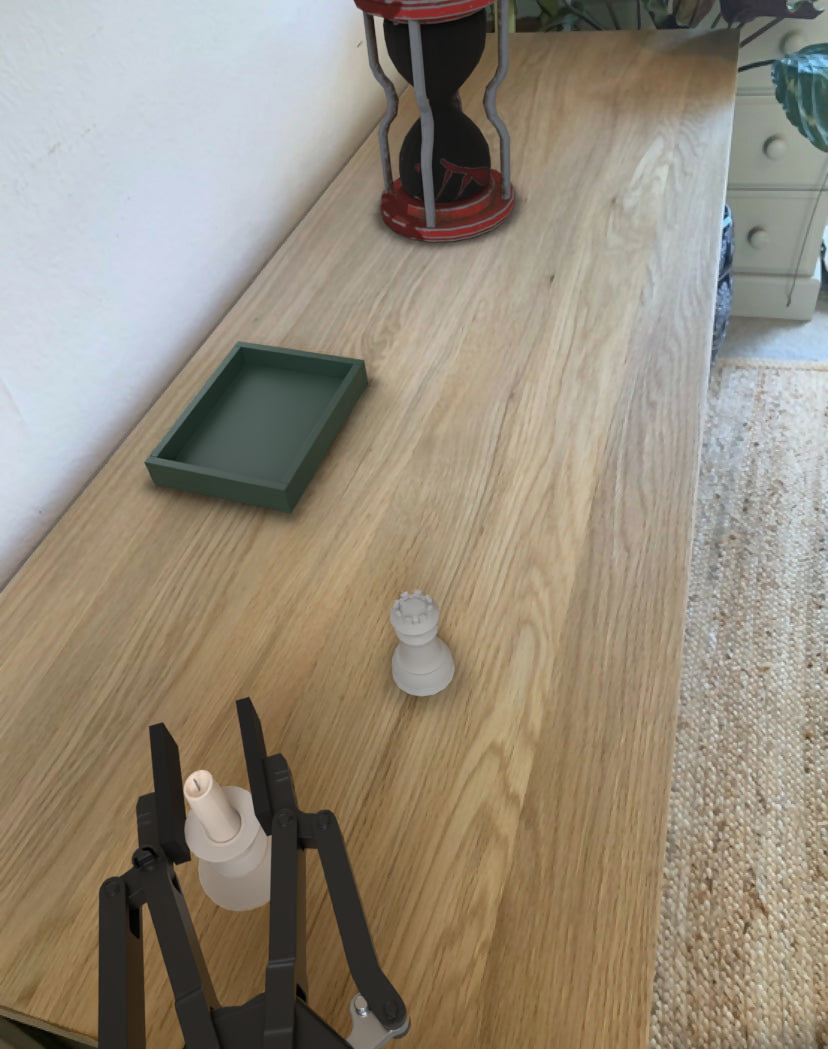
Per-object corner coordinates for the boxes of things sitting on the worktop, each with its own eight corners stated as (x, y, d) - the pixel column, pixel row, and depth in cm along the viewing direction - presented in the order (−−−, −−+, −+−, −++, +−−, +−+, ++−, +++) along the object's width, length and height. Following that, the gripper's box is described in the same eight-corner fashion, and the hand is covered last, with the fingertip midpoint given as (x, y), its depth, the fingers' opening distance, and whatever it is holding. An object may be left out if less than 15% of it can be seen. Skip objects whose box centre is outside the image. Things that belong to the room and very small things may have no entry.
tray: (291, 513, 72) (284, 490, 70) (154, 484, 76) (143, 462, 74) (368, 383, 82) (364, 359, 80) (244, 363, 86) (237, 340, 84)
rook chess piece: (409, 637, 62) (397, 569, 56) (465, 657, 61) (459, 589, 55) (381, 686, 60) (366, 621, 54) (439, 709, 58) (429, 643, 52)
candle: (201, 922, 45) (136, 847, 37) (199, 827, 48) (138, 740, 41) (299, 899, 45) (255, 820, 37) (290, 806, 49) (247, 716, 41)
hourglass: (402, 173, 110) (378, -53, 92) (526, 178, 106) (526, -57, 88) (364, 239, 100) (328, 1, 82) (499, 247, 96) (494, -1, 78)
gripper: (86, 1368, 32) (74, 801, 48) (509, 1205, 34) (367, 712, 50) (-4, 1386, 27) (15, 737, 42) (508, 1190, 29) (348, 640, 44)
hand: (206, 724), depth 46 cm, fingers closed on candle, 4 cm apart
